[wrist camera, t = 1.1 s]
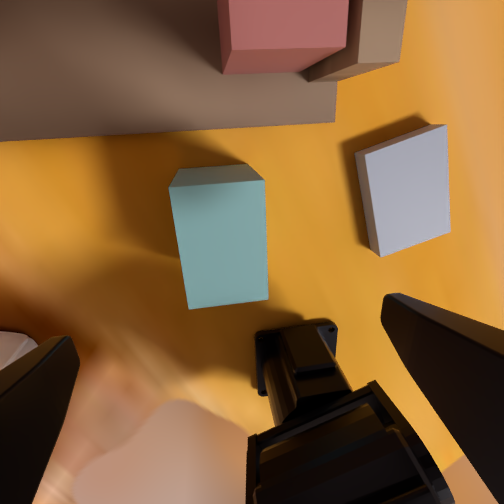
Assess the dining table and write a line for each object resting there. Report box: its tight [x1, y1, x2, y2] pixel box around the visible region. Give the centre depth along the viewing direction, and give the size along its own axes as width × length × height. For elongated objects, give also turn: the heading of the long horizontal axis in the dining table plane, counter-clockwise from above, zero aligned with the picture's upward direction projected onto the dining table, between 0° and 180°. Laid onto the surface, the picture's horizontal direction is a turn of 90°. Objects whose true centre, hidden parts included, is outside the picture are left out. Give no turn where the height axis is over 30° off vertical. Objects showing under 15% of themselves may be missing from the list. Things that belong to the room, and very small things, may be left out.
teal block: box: [168, 164, 268, 309], centre depth 16 cm, size 6×4×6 cm, turn 3°
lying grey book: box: [354, 125, 450, 257], centre depth 19 cm, size 7×5×2 cm
